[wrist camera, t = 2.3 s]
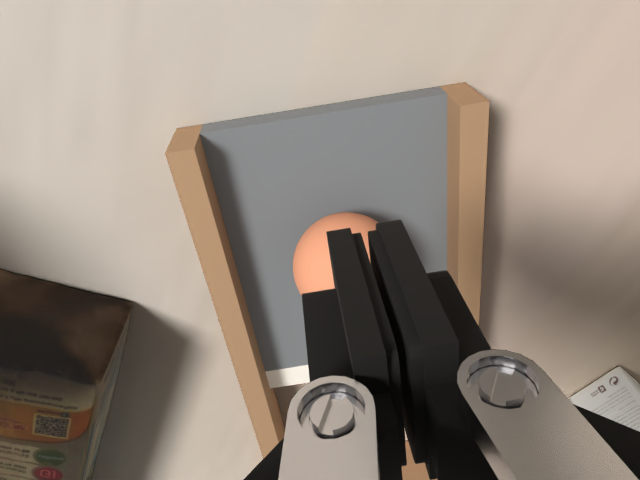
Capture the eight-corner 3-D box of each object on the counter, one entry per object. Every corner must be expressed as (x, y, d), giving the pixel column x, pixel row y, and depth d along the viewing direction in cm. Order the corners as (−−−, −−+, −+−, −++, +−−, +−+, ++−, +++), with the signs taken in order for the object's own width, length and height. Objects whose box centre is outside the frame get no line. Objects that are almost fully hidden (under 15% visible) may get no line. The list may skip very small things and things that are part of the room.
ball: (282, 202, 24) (285, 260, 20) (385, 186, 24) (410, 241, 20) (299, 284, 27) (304, 351, 22) (391, 269, 27) (414, 333, 22)
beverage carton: (-29, 475, 35) (-86, 579, 29) (-19, 255, 26) (-98, 345, 20) (91, 490, 37) (59, 590, 31) (139, 291, 28) (106, 381, 22)
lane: (176, 128, 23) (155, 173, 19) (465, 82, 23) (509, 116, 19) (280, 473, 37) (281, 543, 33) (457, 445, 37) (481, 511, 33)
